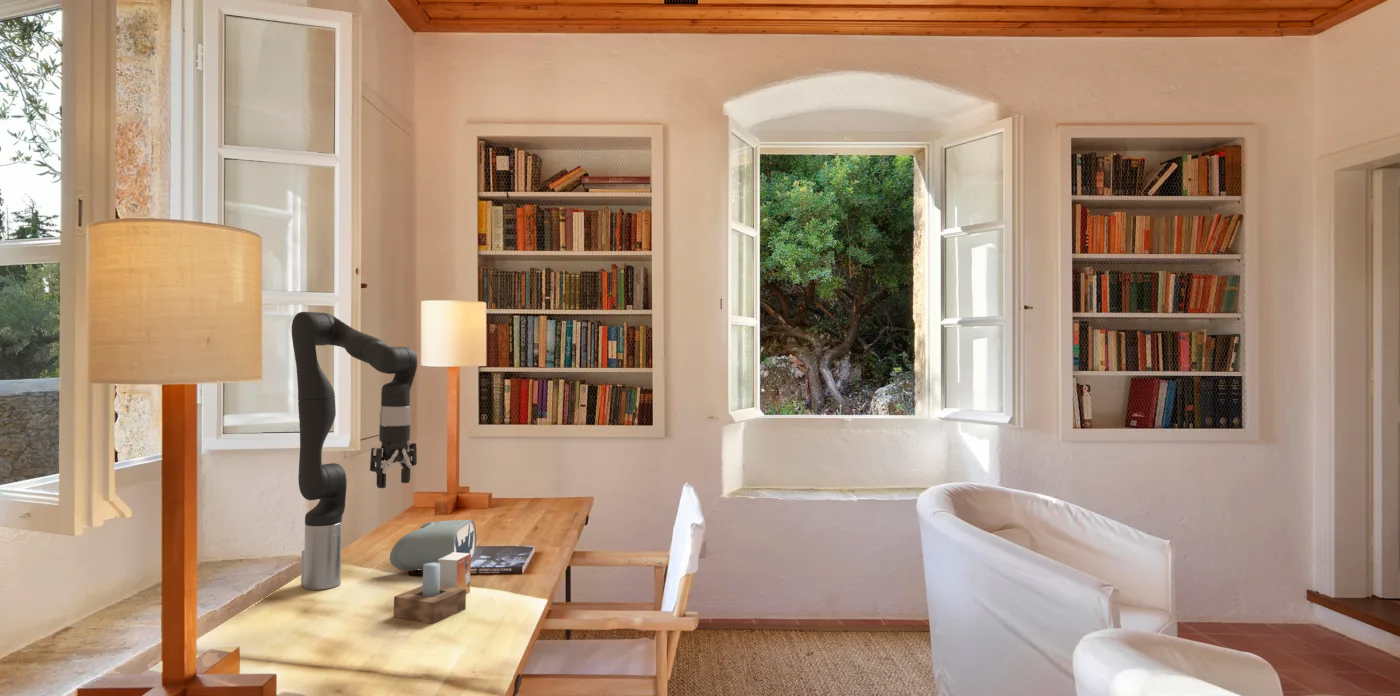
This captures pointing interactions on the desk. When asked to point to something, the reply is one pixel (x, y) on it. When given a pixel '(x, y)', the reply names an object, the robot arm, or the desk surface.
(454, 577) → the small box
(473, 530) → the pencil case
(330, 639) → the desk surface
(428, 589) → the peg
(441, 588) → the socket block
